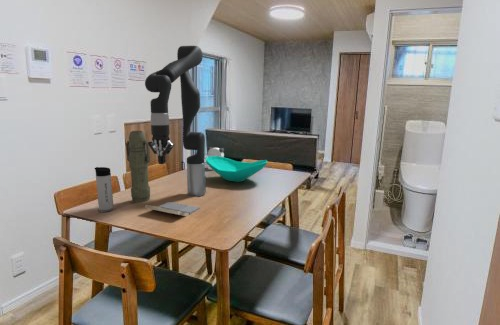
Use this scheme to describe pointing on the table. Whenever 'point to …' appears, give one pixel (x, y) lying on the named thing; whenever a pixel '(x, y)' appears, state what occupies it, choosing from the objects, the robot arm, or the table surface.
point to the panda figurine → (215, 153)
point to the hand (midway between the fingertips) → (161, 163)
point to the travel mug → (104, 189)
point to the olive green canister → (138, 166)
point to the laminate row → (179, 207)
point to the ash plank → (167, 210)
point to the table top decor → (234, 168)
